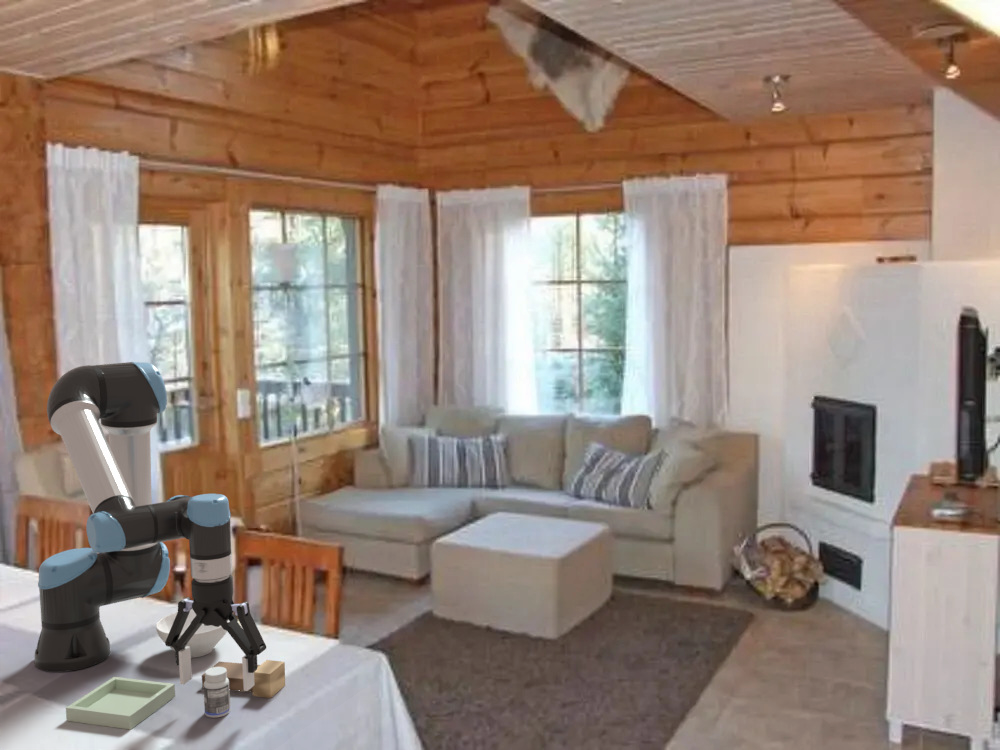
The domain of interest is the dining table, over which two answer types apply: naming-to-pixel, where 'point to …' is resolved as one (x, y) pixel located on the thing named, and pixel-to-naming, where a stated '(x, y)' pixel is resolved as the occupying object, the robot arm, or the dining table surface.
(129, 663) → the dining table surface
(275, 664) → the wooden block
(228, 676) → the brown cardboard box
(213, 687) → the pill bottle
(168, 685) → the tray
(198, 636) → the bowl
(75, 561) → the robot arm
